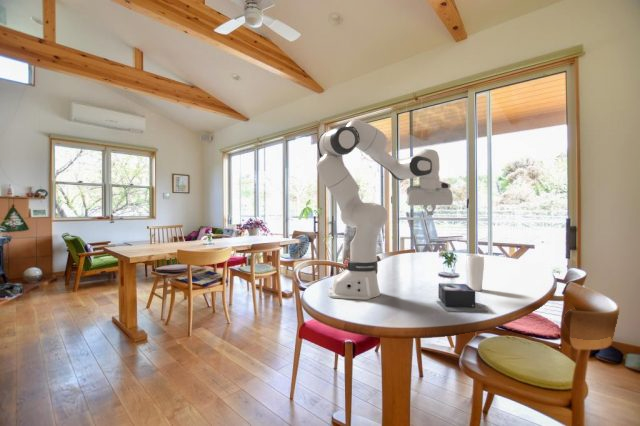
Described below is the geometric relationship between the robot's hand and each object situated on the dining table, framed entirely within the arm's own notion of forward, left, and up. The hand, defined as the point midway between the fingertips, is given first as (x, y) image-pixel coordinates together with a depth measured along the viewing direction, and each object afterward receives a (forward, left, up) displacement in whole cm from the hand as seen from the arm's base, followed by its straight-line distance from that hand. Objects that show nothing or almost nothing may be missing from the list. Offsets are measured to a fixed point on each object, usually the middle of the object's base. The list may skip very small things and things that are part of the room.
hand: (429, 215), depth 141 cm
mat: (+2, -29, -33) cm, 44 cm away
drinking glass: (+18, -6, -33) cm, 38 cm away
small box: (+2, -21, -29) cm, 36 cm away
